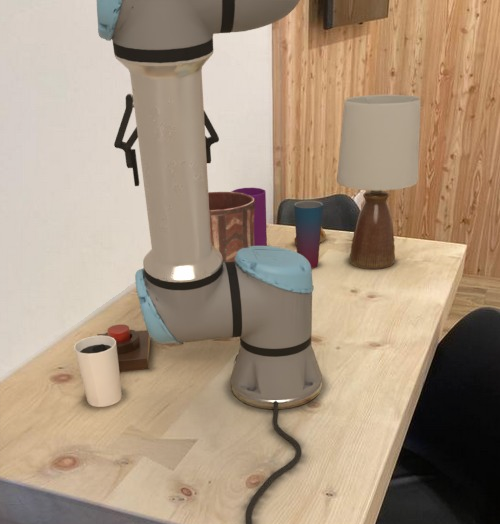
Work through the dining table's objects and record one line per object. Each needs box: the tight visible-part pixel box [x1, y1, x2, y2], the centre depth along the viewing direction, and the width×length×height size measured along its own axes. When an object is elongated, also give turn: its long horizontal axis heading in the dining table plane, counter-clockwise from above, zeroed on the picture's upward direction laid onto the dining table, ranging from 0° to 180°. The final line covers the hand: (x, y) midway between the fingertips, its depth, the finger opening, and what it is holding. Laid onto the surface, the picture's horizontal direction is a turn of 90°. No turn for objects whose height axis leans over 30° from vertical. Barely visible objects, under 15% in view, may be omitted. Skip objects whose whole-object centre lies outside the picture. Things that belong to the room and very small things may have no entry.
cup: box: [293, 199, 324, 269], centre depth 154 cm, size 7×7×15 cm
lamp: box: [336, 94, 422, 270], centre depth 149 cm, size 19×19×37 cm
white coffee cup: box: [73, 335, 123, 408], centre depth 104 cm, size 7×7×10 cm
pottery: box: [208, 191, 255, 262], centre depth 149 cm, size 18×18×18 cm
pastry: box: [294, 226, 328, 245], centre depth 172 cm, size 9×7×4 cm
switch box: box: [96, 329, 151, 372], centre depth 118 cm, size 12×10×4 cm
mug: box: [230, 187, 268, 246], centre depth 164 cm, size 9×16×15 cm, turn 163°
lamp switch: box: [107, 323, 131, 343], centre depth 117 cm, size 4×4×2 cm
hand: (171, 182), depth 128 cm, fingers open, 13 cm apart
